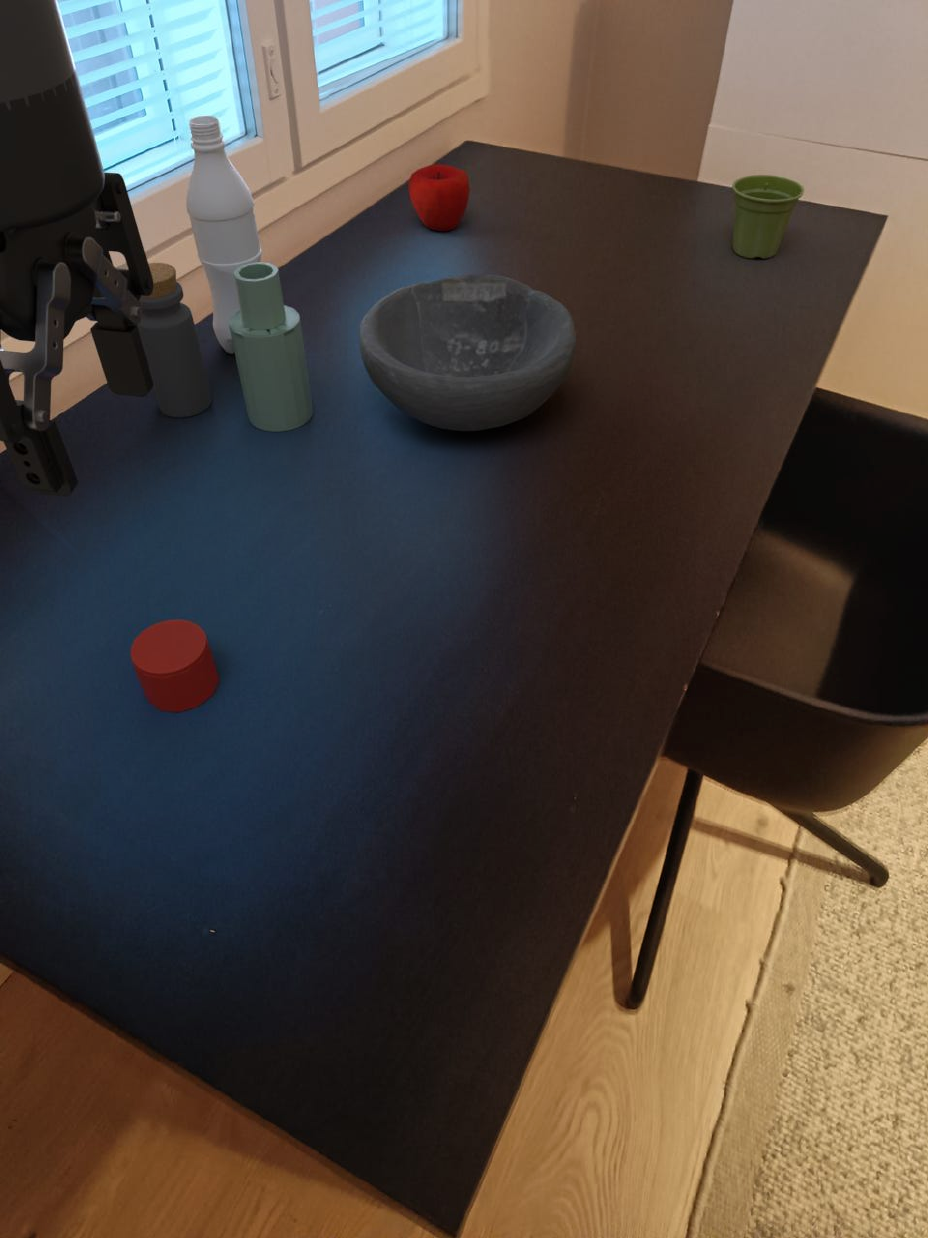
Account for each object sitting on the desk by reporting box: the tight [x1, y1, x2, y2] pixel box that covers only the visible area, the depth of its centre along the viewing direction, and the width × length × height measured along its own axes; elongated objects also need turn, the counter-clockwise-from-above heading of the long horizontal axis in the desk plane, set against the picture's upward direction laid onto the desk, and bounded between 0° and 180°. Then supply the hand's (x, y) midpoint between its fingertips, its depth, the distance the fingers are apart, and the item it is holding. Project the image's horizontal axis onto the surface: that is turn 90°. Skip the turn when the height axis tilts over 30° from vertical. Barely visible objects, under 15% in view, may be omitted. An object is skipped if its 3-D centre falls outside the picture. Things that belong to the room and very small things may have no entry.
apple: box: [408, 164, 470, 232], centre depth 131 cm, size 9×9×8 cm
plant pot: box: [731, 174, 805, 260], centre depth 124 cm, size 9×9×9 cm
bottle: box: [137, 262, 213, 418], centre depth 94 cm, size 6×6×15 cm
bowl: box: [359, 272, 577, 432], centre depth 96 cm, size 23×22×10 cm
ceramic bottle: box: [229, 261, 314, 433], centre depth 92 cm, size 7×7×16 cm
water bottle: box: [185, 115, 263, 355], centre depth 100 cm, size 7×7×25 cm
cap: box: [130, 618, 220, 713], centre depth 69 cm, size 6×6×4 cm
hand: (96, 438), depth 45 cm, fingers open, 8 cm apart
